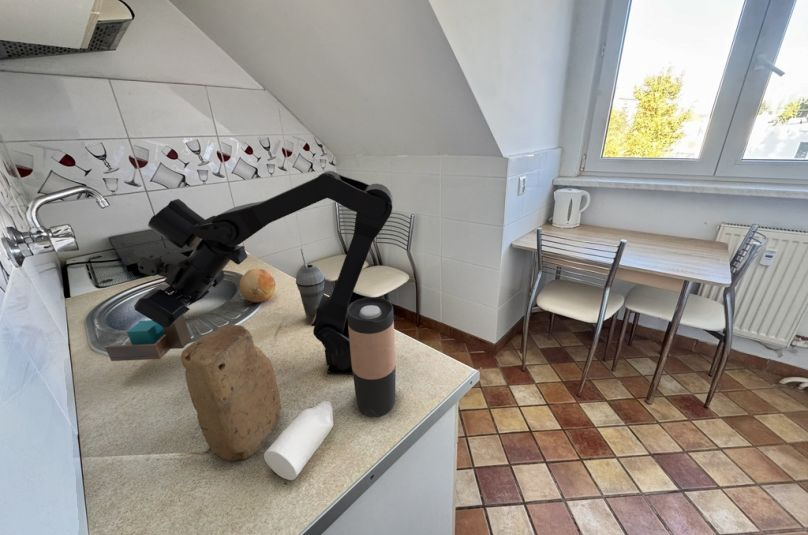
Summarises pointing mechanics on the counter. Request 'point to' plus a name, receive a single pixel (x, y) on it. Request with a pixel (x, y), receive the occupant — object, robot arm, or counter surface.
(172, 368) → the counter surface
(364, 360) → the travel mug
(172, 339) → the brown angle bracket
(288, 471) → the white bottle
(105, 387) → the counter surface
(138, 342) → the cube
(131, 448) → the counter surface
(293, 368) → the counter surface
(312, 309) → the beverage cup
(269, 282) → the onion
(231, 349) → the porous brown stone
